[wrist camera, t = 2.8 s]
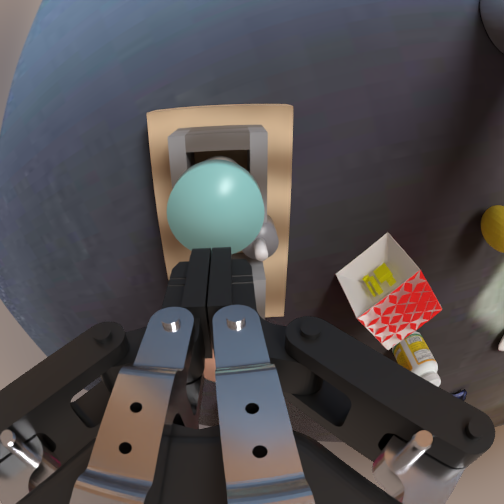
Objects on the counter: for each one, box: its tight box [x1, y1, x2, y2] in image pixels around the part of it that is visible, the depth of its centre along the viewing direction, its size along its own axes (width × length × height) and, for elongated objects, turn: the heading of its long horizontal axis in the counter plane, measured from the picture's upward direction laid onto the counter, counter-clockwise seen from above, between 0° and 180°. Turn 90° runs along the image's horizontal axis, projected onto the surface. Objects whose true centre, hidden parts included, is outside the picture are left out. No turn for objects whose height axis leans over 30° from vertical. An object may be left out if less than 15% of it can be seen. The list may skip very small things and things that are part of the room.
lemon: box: [481, 205, 504, 253], centre depth 29 cm, size 6×6×8 cm
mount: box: [147, 104, 293, 320], centre depth 28 cm, size 22×12×8 cm, turn 1°
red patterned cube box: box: [336, 232, 442, 350], centre depth 33 cm, size 8×8×8 cm
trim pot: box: [242, 214, 279, 261], centre depth 26 cm, size 3×3×5 cm
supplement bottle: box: [392, 331, 441, 386], centre depth 39 cm, size 5×5×10 cm
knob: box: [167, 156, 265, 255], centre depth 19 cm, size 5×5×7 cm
